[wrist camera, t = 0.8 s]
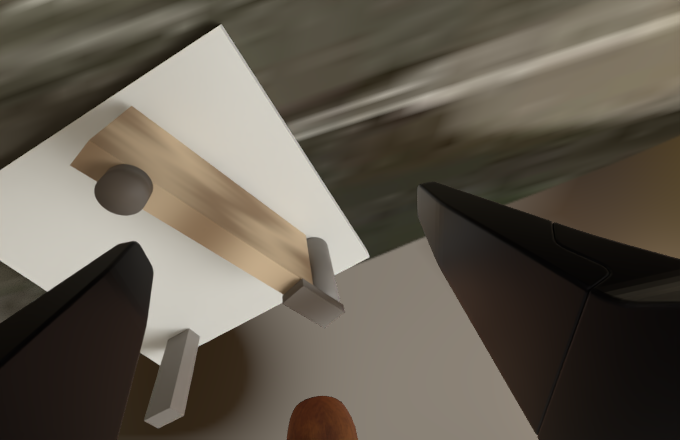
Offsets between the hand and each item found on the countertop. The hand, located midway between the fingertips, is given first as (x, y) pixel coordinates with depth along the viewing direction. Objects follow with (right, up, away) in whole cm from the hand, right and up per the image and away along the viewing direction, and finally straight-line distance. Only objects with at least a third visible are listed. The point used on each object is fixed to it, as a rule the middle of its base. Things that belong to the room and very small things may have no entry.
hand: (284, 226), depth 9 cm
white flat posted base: (-9, -1, +14) cm, 17 cm away
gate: (-5, +1, +12) cm, 13 cm away
